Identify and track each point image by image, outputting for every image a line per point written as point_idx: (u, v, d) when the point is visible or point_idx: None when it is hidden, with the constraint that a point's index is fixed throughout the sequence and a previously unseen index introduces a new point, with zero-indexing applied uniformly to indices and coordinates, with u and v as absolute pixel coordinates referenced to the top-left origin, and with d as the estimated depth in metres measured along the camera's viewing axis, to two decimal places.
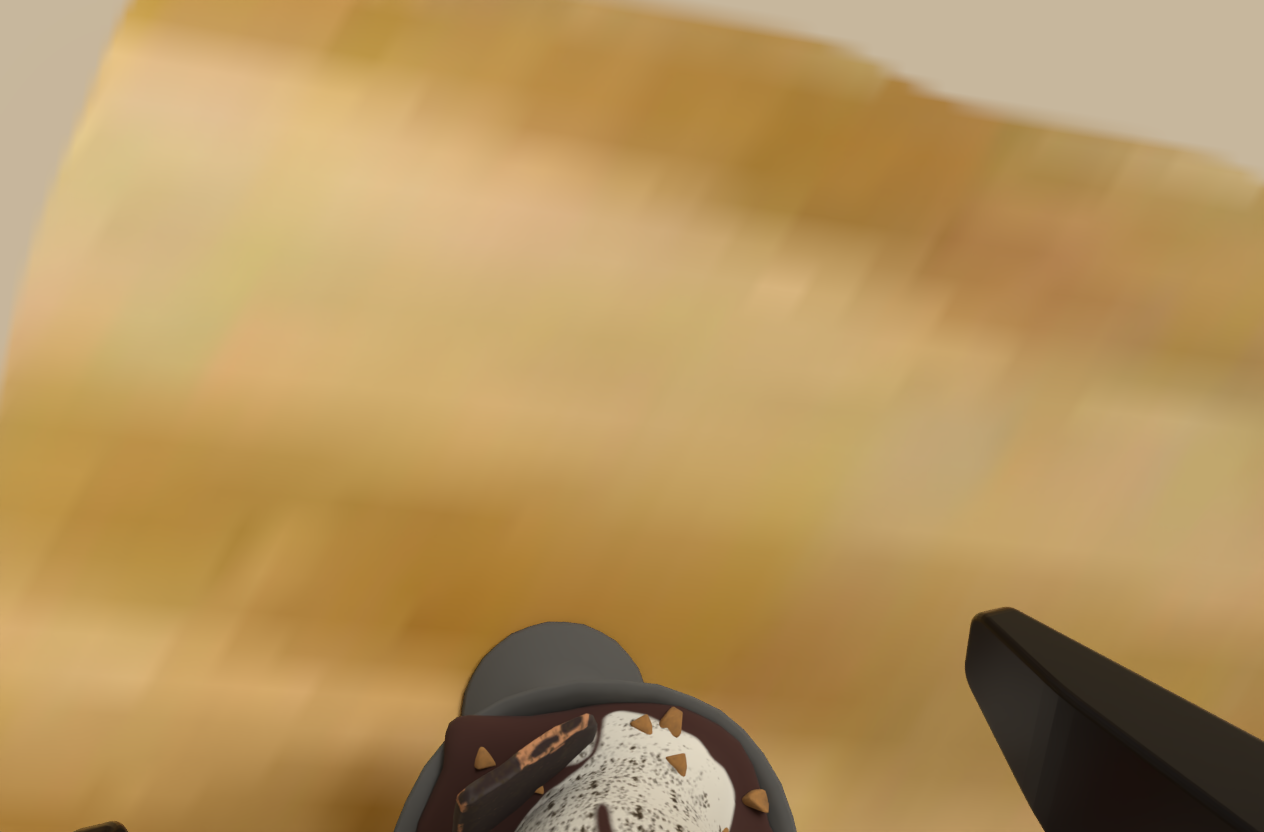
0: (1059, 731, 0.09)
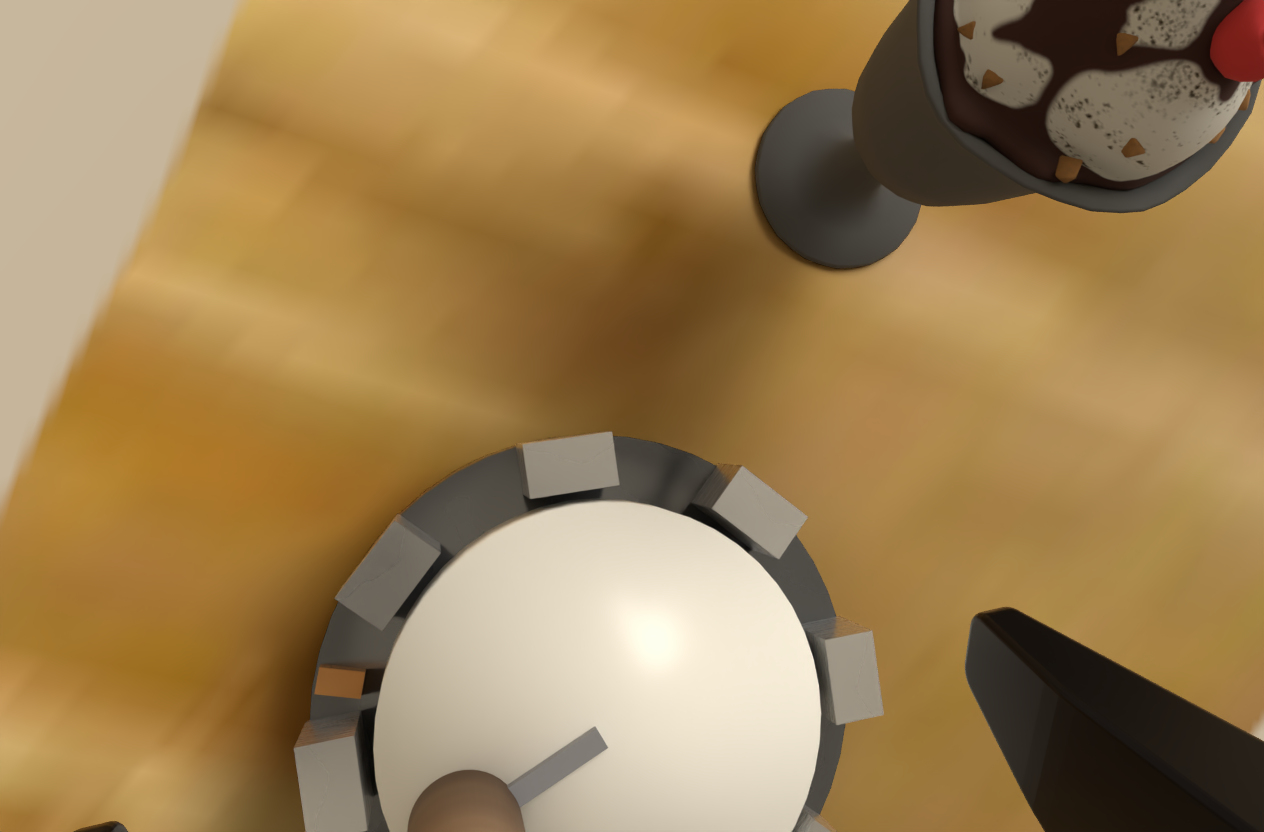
0: (1059, 731, 0.09)
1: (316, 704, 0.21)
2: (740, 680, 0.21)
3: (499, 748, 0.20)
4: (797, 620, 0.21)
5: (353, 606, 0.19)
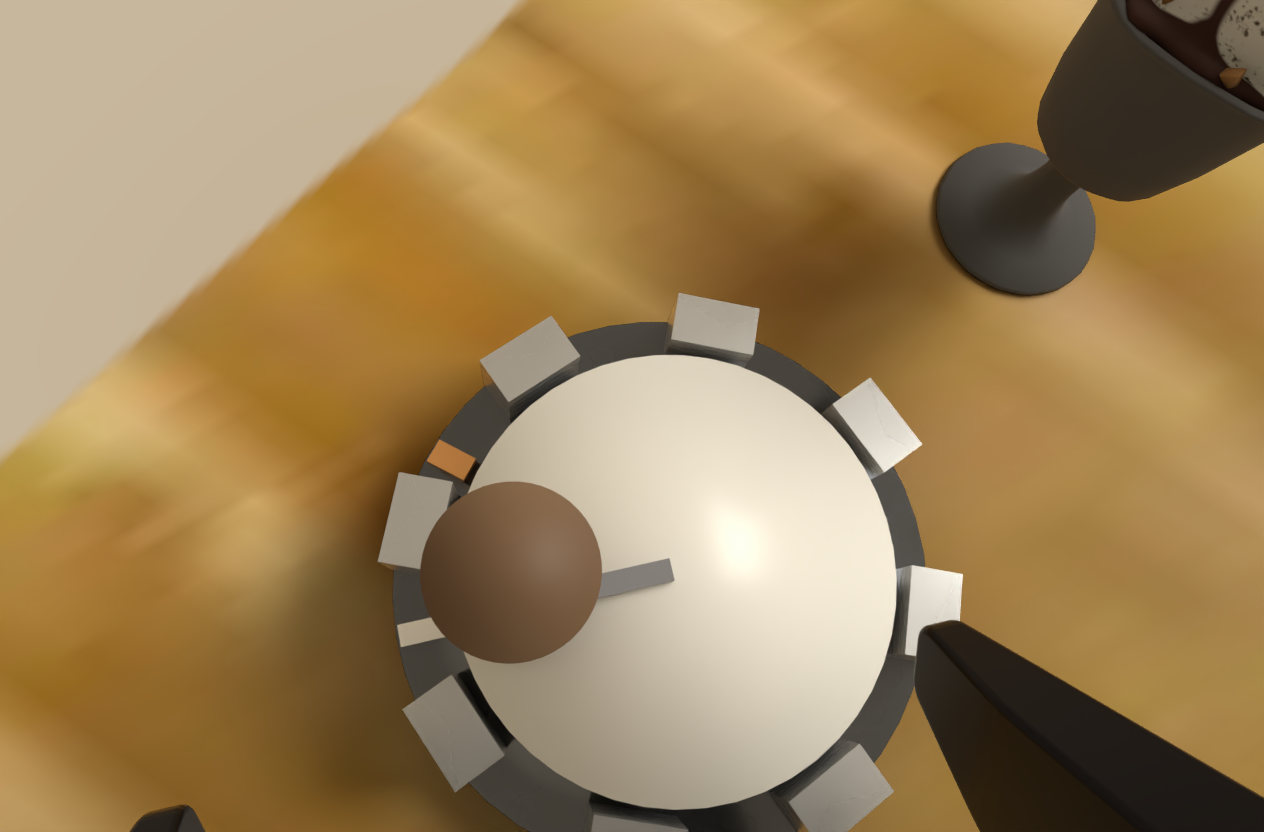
0: (999, 747, 0.09)
1: (423, 475, 0.22)
2: (818, 571, 0.21)
3: None
4: (889, 535, 0.21)
5: (492, 372, 0.21)
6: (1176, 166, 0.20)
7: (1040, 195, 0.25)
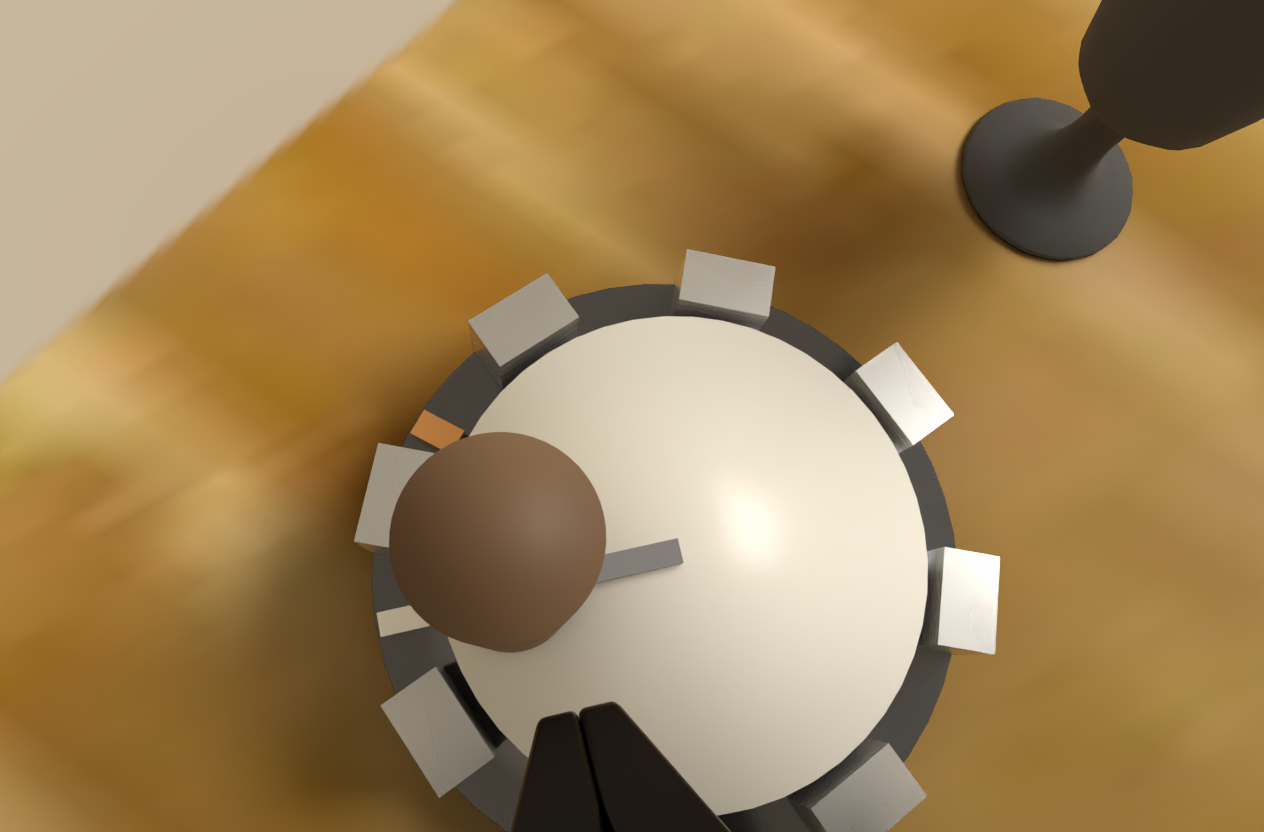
0: None
1: None
2: (842, 553, 0.19)
3: None
4: (919, 514, 0.19)
5: (482, 334, 0.19)
6: (1238, 105, 0.18)
7: (1076, 150, 0.23)
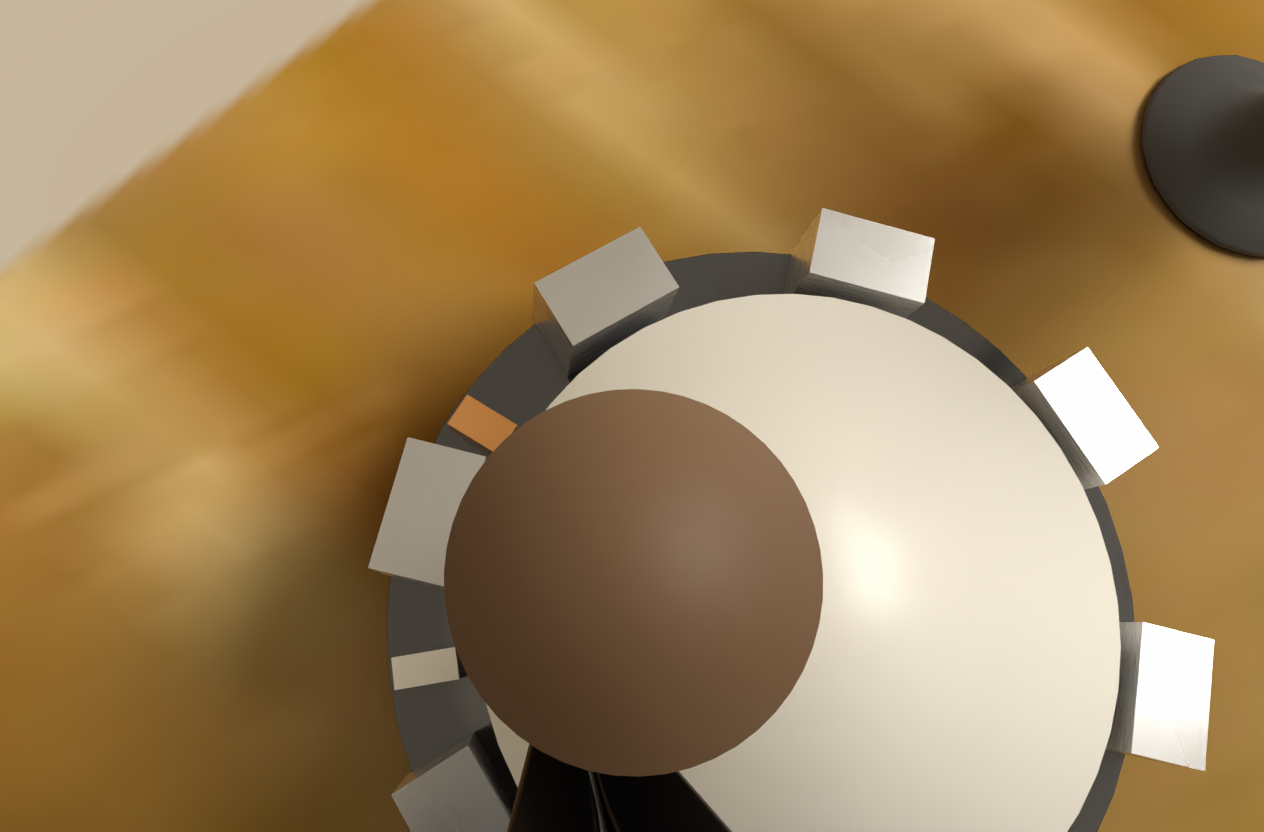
0: None
1: (441, 444, 0.16)
2: (1008, 655, 0.14)
3: None
4: (1117, 626, 0.14)
5: (552, 302, 0.15)
6: None
7: None
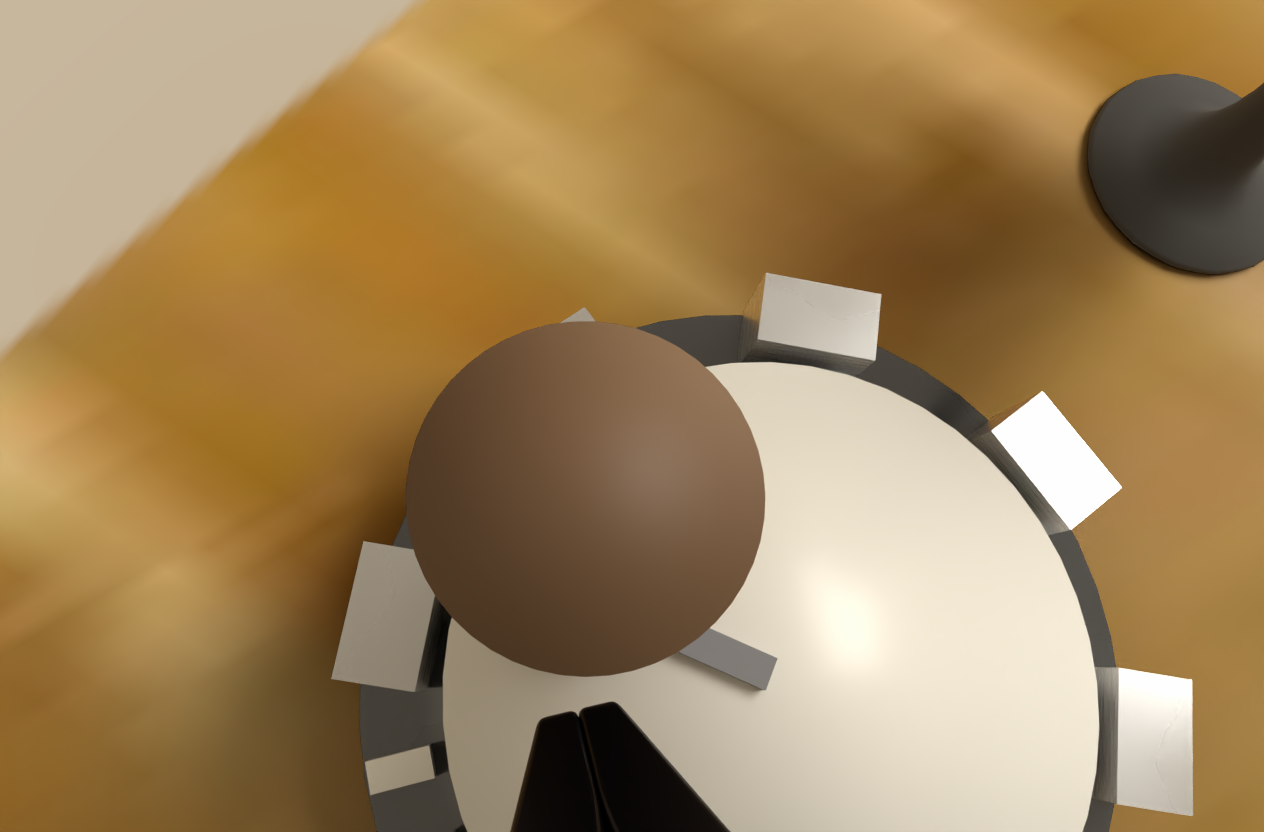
0: None
1: (403, 537, 0.16)
2: (954, 814, 0.14)
3: None
4: None
5: None
6: None
7: (1244, 137, 0.19)
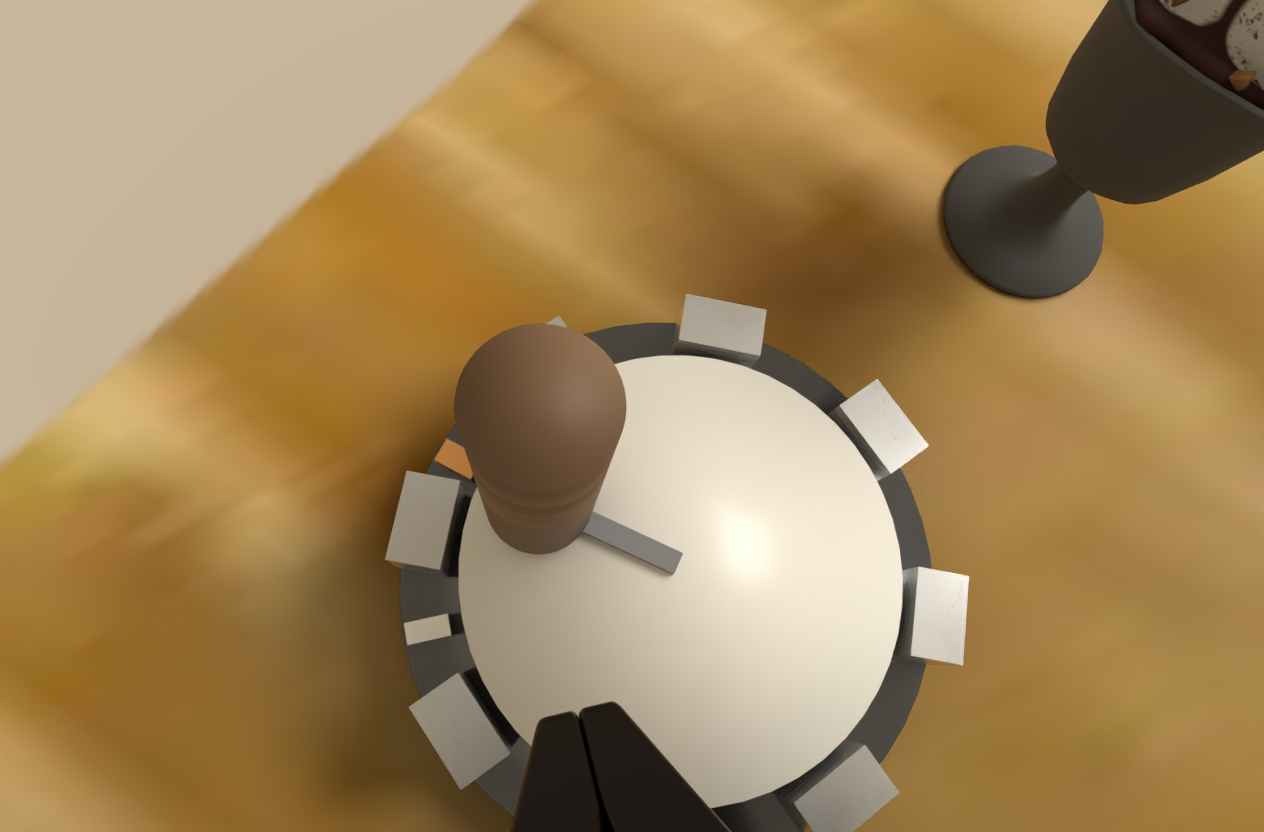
0: None
1: (431, 474, 0.22)
2: (799, 659, 0.20)
3: (615, 486, 0.21)
4: (882, 676, 0.20)
5: None
6: (1185, 169, 0.20)
7: (1048, 198, 0.25)
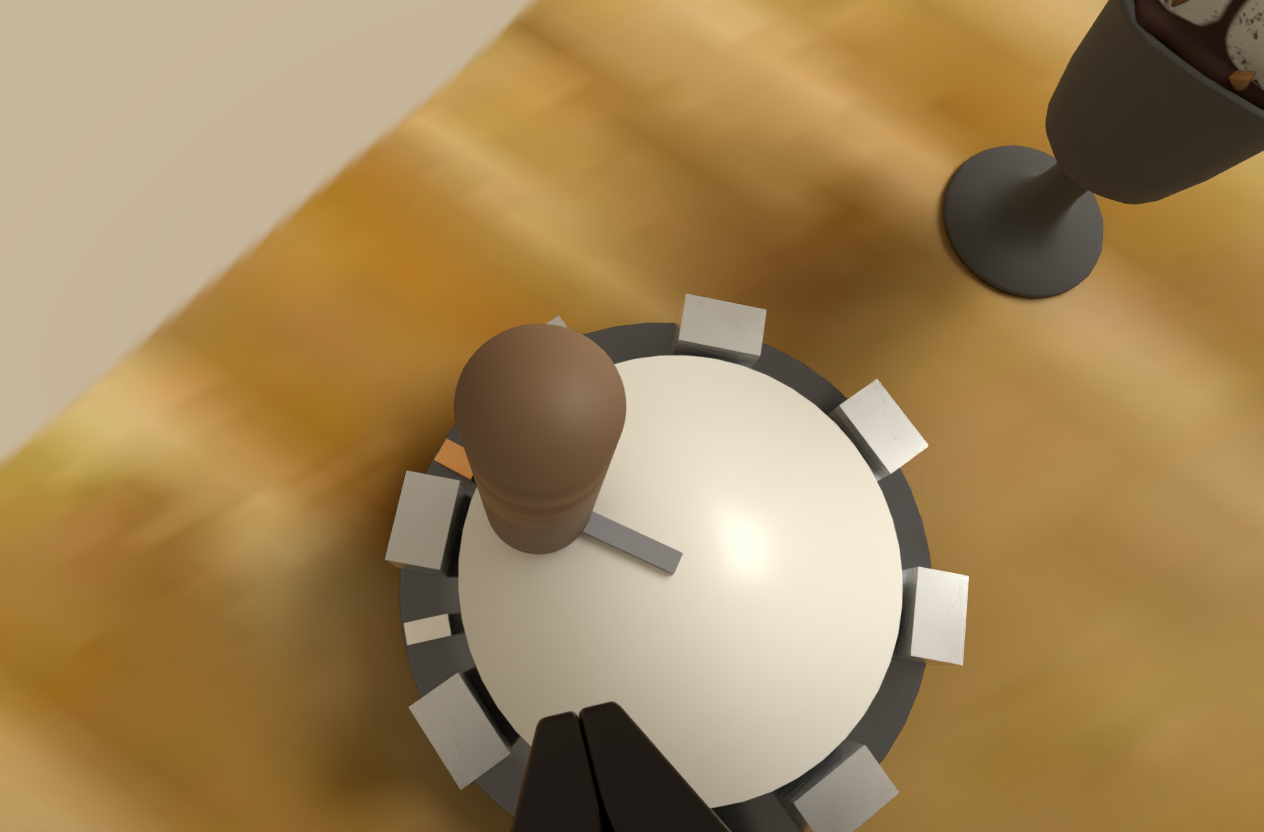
0: None
1: (430, 474, 0.22)
2: (799, 659, 0.20)
3: (615, 486, 0.21)
4: (882, 676, 0.20)
5: None
6: (1185, 169, 0.20)
7: (1048, 198, 0.25)
